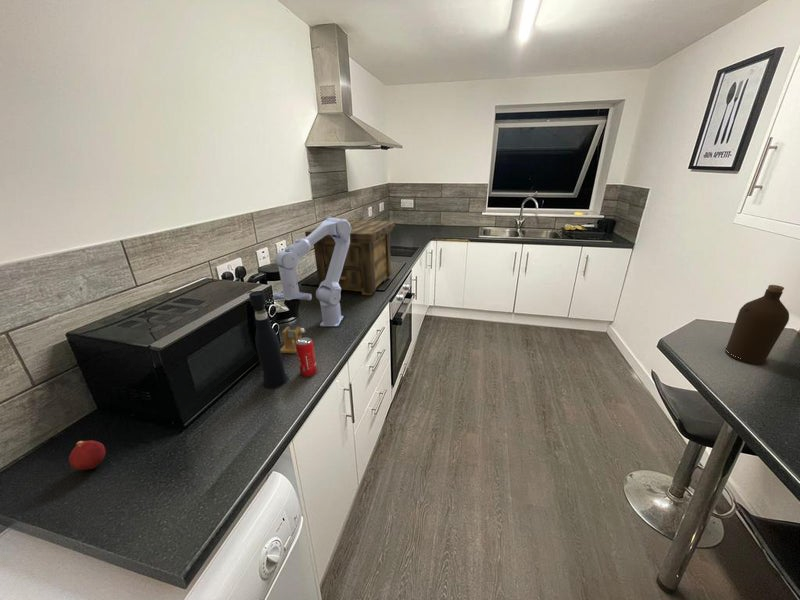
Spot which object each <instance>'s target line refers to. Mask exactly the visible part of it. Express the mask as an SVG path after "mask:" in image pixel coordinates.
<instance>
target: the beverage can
mask: <svg viewBox="0 0 800 600" xmlns="http://www.w3.org/2000/svg"><path fill="white" fill-rule="evenodd" d="M296 350H297V353H296V356H297V362H298V368H299V373H300V374H301V375H302V376H303V377H306V378H308V377H312V376H314V375H315V374H316V373H317V361H316V356H315V348H314V342H313V340H312V338H311V337H309V336H304V337H303V336H302V338H300V339H298V340H297V341H296Z"/></svg>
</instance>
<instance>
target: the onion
mask: <svg viewBox="0 0 800 600" xmlns="http://www.w3.org/2000/svg"><path fill="white" fill-rule="evenodd" d="M106 451H107V450H106V447H105V445H104V444H103V443H101V442H100V441H97V440H93V439H91V440H79V441H77V442H76V443H75V447H74V448H73V449H72V450H71V452H70V454H69V456H68V462H69V466H70V467H71V468H72V469H74V470H77V471H88V470H94V469H96V468H97V467H98V466H99V465H100V464H101V463H102V462H103V460H104V459H105V457H106Z"/></svg>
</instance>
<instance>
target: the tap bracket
mask: <svg viewBox="0 0 800 600" xmlns="http://www.w3.org/2000/svg"><path fill="white" fill-rule="evenodd" d="M300 328H301V326H296V328H294V329H293V330H294V332H293V336H294V337H287V333H288V330H291V327H290V326H286V327H285V328H284V329H283V330H282V332H281V334H282V340H283V345H282V347H280V350H281V354H297V350H296V341H297V340H298V339H300V338H303V335H301V330H300Z"/></svg>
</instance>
